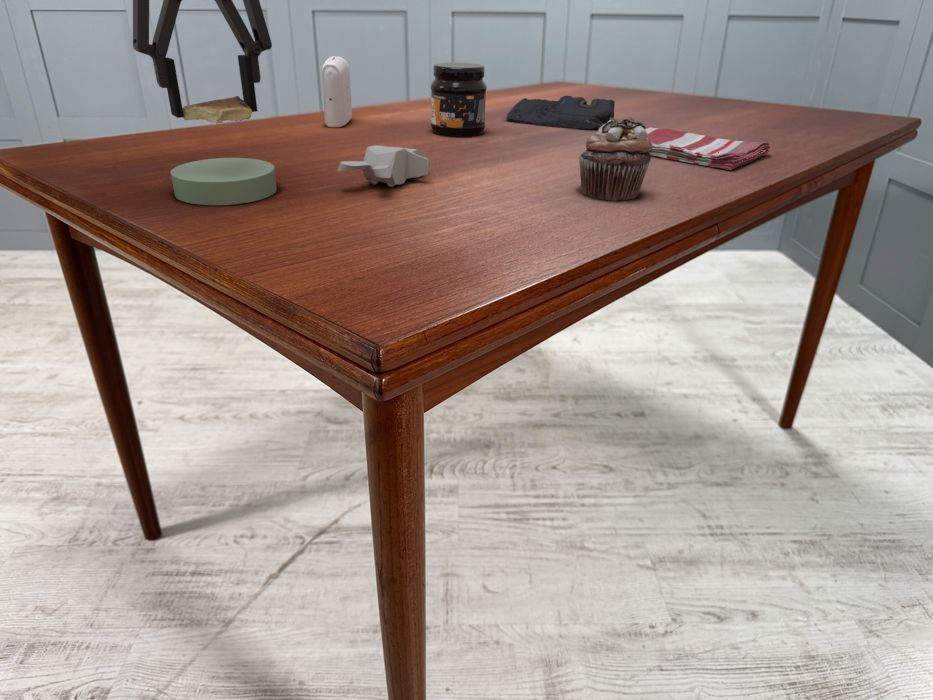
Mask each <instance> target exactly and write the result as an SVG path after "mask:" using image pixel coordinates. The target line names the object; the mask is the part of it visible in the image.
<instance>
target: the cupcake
mask: <svg viewBox="0 0 933 700" xmlns="http://www.w3.org/2000/svg"><path fill="white" fill-rule="evenodd" d="M645 128H647V127H646V125H645V124H644V123H642V122H639V121H635V120H634V118H633V117H630V118H625V119H623V120H622V121H621V122H620V121H619V120H616V119H615V118H614V119H613V118H610V120H609V121H608V122H607V123H606V124H604V125H603V126H601V127H600V128H599V129H598V131H597V132H595V134H593V135H591V136H590V137H588V138H587V139H586V141H585V148H586V150H584V151H583V152H582V153H579V154H578V164H579V175H580V187H581V193H582V194H583V195H585V196H588V197H590V198H594V199H599V200H605V201H626V200H627V201H628V200H631V199H635V198H637V197H638V196H639V193H640V190H641V188H642V185H643V182H644V179H645V176H646V173H647V171H648V168H649V166H650V162H651V160H652V155H650V153H649V152H650V151H651V150H652V144H651V142H650V140H649V139H648V138H647V132H646V130H645Z"/></svg>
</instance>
